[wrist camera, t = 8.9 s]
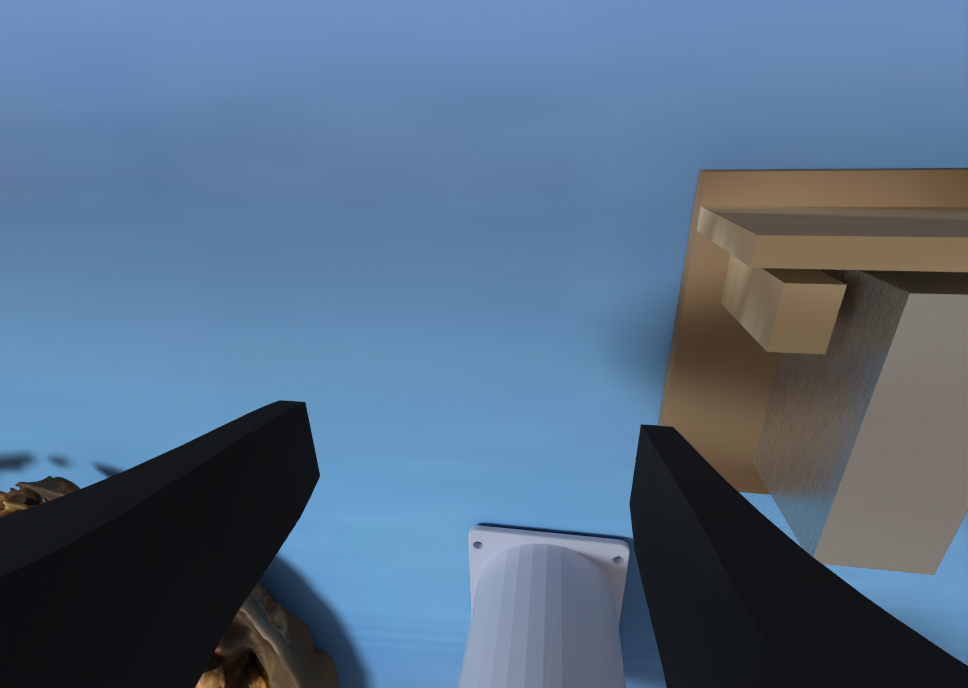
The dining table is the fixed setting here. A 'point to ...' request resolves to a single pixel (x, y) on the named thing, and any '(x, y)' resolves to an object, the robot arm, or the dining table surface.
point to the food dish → (251, 635)
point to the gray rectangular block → (876, 425)
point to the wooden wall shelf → (788, 284)
